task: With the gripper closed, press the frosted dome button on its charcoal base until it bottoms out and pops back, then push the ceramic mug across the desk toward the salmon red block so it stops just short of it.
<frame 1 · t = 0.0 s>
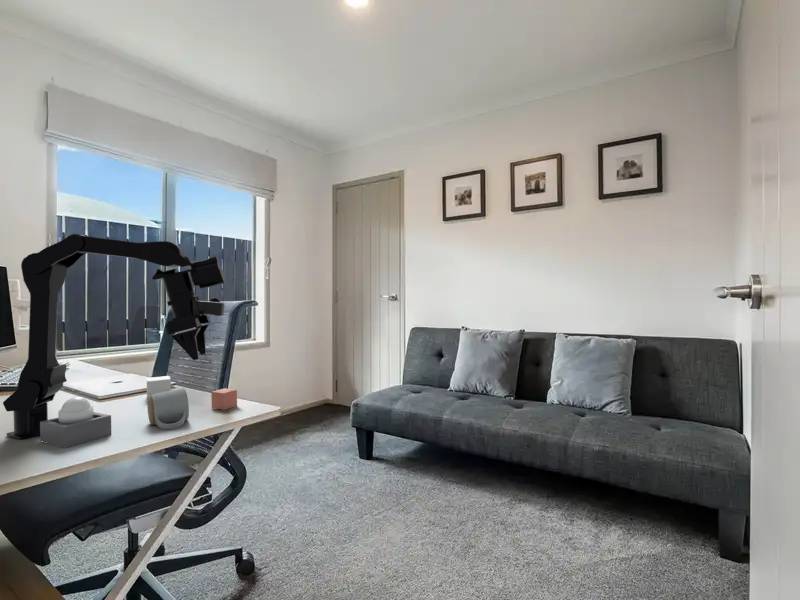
hand: (199, 356, 104), 15 cm above the table, tool pointing down, fingers open, 9 cm apart
ceramic mug: (170, 424, 102), on the table
dome base: (76, 437, 92), on the table
salmon red block: (224, 407, 116), on the table
dome: (76, 408, 92), point 6 cm above the table, slide at -0.2 cm
white cube: (158, 399, 127), on the table
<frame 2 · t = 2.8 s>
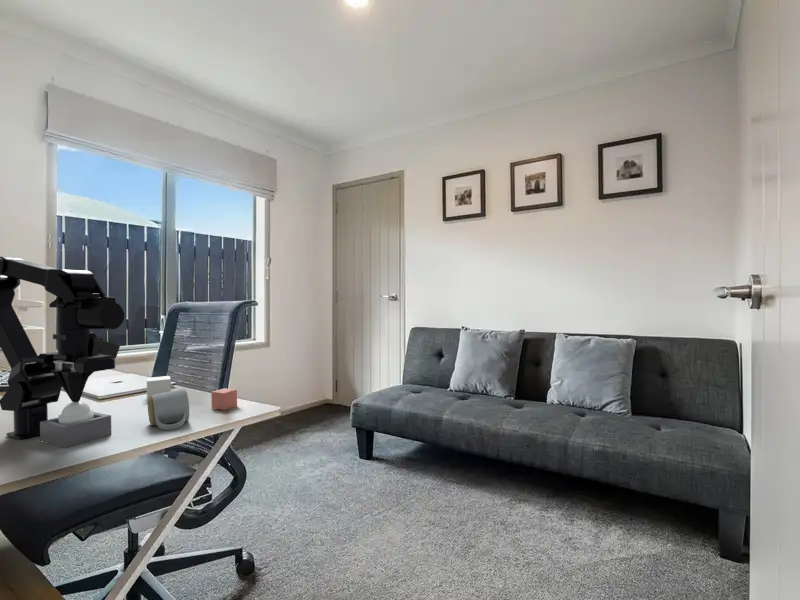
hand: (75, 401, 92), 8 cm above the table, tool pointing down, fingers closed, pressing on dome
dome: (76, 413, 92), point 5 cm above the table, slide at -1.2 cm, touching gripper
everything else where it was.
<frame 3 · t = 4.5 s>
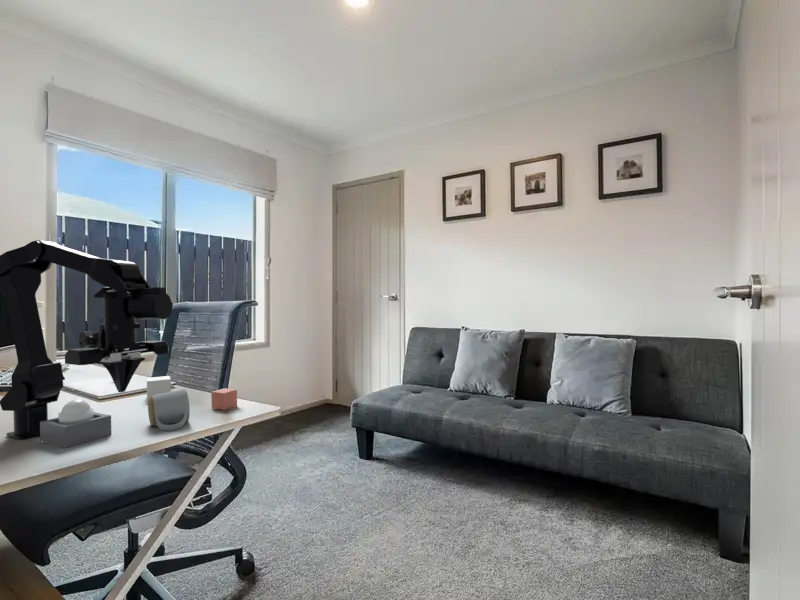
hand: (121, 391, 92), 10 cm above the table, tool pointing down, fingers closed
dome: (76, 411, 92), point 6 cm above the table, slide at -0.8 cm
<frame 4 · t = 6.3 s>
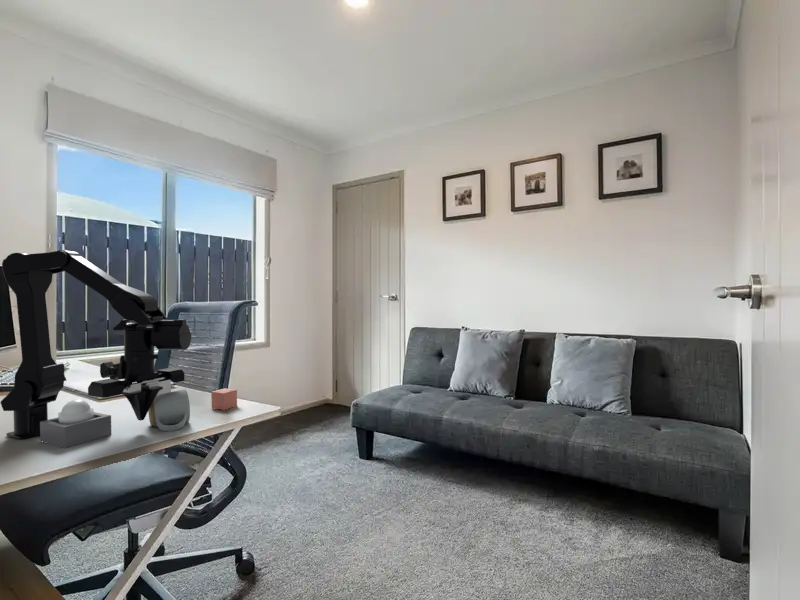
hand: (140, 420, 96), 3 cm above the table, tool pointing down, fingers closed
ceramic mug: (171, 426, 101), on the table, touching gripper
everything else where it was.
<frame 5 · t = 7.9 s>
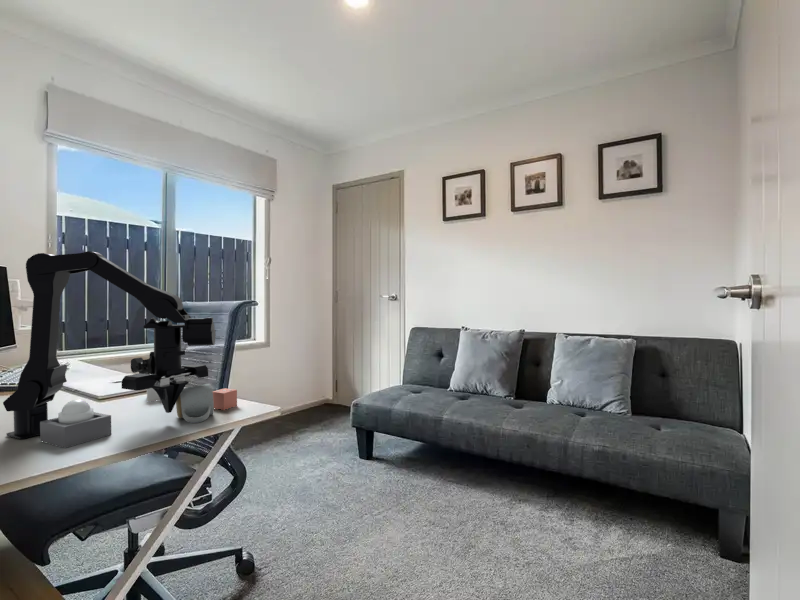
hand: (168, 412, 102), 3 cm above the table, tool pointing down, fingers closed
ceramic mug: (197, 418, 107), on the table, touching gripper
everything else where it was.
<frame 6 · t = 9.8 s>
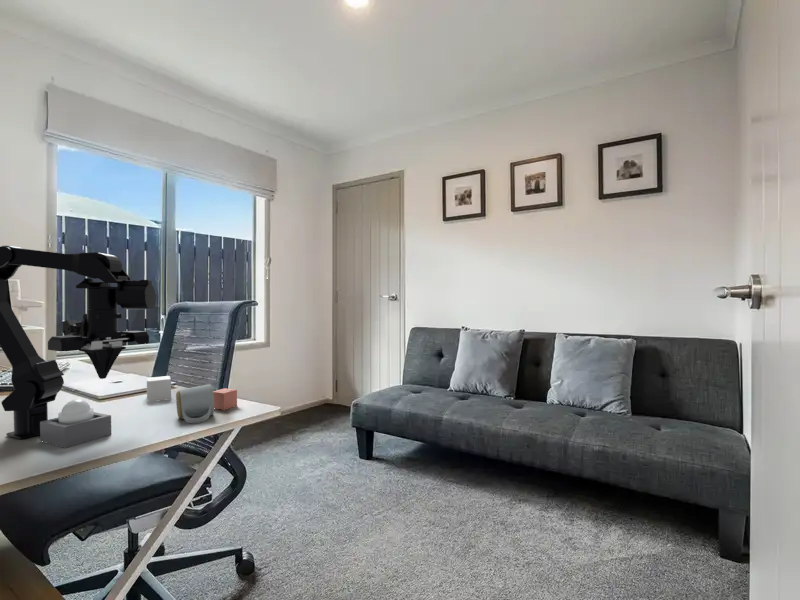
hand: (102, 378, 97), 12 cm above the table, tool pointing down, fingers closed
ceramic mug: (197, 418, 106), on the table
everything else where it was.
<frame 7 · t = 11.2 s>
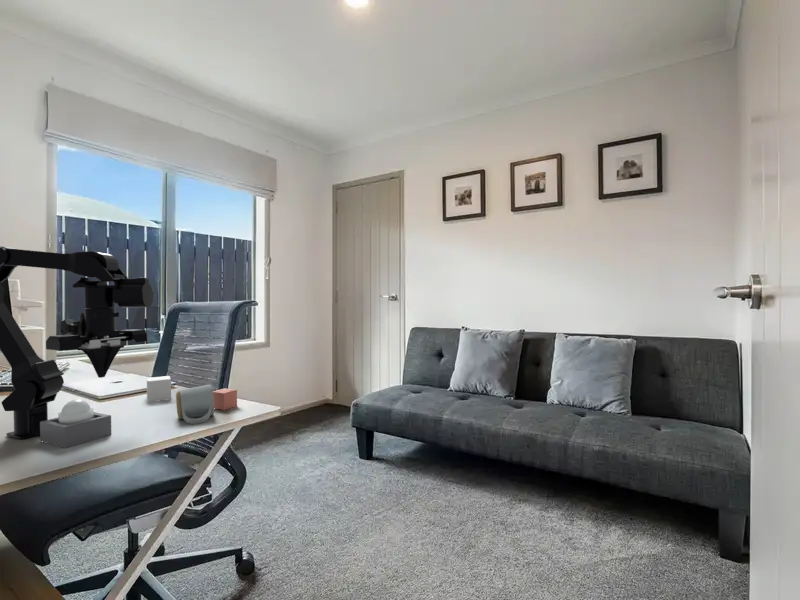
hand: (101, 377, 97), 12 cm above the table, tool pointing down, fingers closed
nothing on the table moved.
at the end: ceramic mug inside the target area (3.7 cm from its centre), on the table; ceramic mug tilted 0°; ceramic mug moved 6.0 cm from its start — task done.
